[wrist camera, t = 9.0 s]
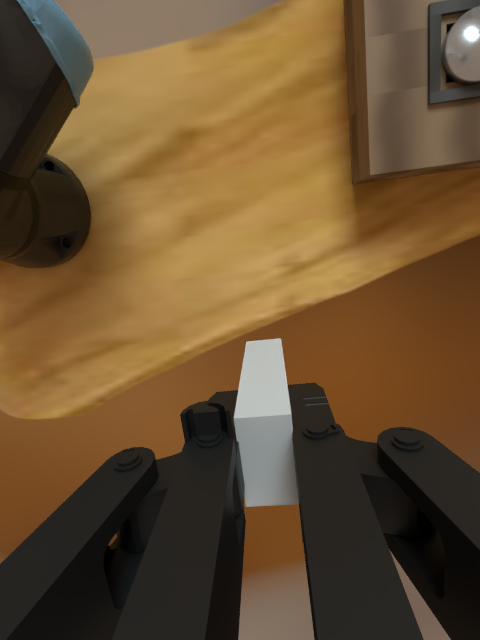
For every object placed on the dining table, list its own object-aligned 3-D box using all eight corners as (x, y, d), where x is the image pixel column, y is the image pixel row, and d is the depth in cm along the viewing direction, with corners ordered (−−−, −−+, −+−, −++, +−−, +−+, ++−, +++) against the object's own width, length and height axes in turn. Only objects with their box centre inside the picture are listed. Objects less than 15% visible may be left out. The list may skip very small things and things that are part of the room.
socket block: (352, 184, 46) (371, 174, 37) (343, -3, 41) (363, -61, 33) (520, 161, 44) (580, 145, 35) (532, -37, 39) (604, -108, 31)
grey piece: (411, 112, 42) (446, 85, 34) (411, 54, 41) (447, 11, 33) (465, 104, 42) (513, 74, 34) (466, 45, 40) (517, -1, 32)
